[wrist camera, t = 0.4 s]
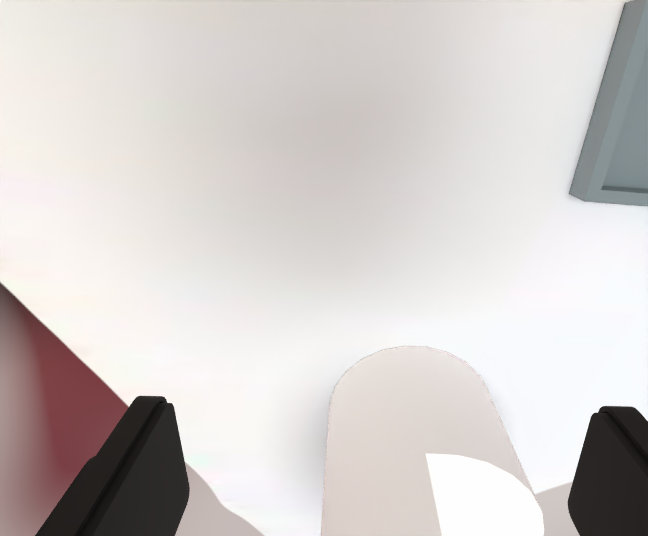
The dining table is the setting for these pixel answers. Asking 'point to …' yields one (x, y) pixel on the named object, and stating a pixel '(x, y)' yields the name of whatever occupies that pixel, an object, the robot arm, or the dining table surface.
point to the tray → (619, 120)
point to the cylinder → (421, 453)
